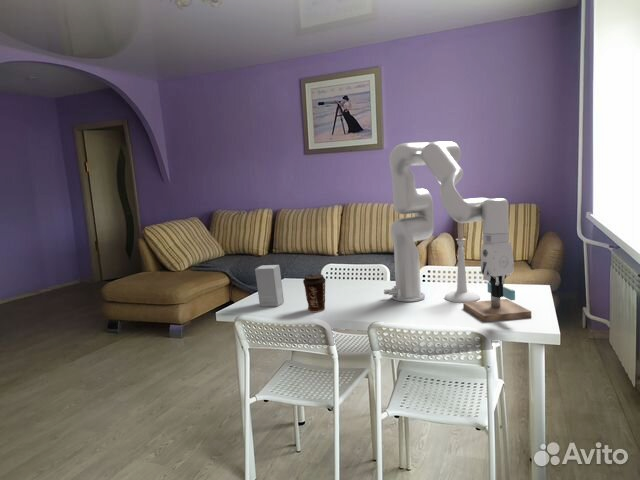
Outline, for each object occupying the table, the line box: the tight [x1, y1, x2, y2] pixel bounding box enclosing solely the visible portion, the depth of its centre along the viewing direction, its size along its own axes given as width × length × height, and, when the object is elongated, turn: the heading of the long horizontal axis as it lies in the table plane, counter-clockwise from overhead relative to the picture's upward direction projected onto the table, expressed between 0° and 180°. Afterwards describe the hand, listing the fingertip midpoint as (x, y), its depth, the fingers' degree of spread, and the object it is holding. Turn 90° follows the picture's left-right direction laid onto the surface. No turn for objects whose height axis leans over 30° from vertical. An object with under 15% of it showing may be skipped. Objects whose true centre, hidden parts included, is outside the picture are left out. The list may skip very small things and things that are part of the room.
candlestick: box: [444, 222, 481, 304], centre depth 175 cm, size 13×13×30 cm
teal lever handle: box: [487, 281, 516, 301], centre depth 150 cm, size 14×5×3 cm, turn 6°
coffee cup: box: [302, 273, 326, 313], centre depth 172 cm, size 9×8×13 cm
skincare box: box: [254, 264, 285, 307], centre depth 184 cm, size 8×7×16 cm
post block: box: [462, 294, 532, 323], centre depth 156 cm, size 16×16×7 cm
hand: (497, 296), depth 144 cm, fingers closed
